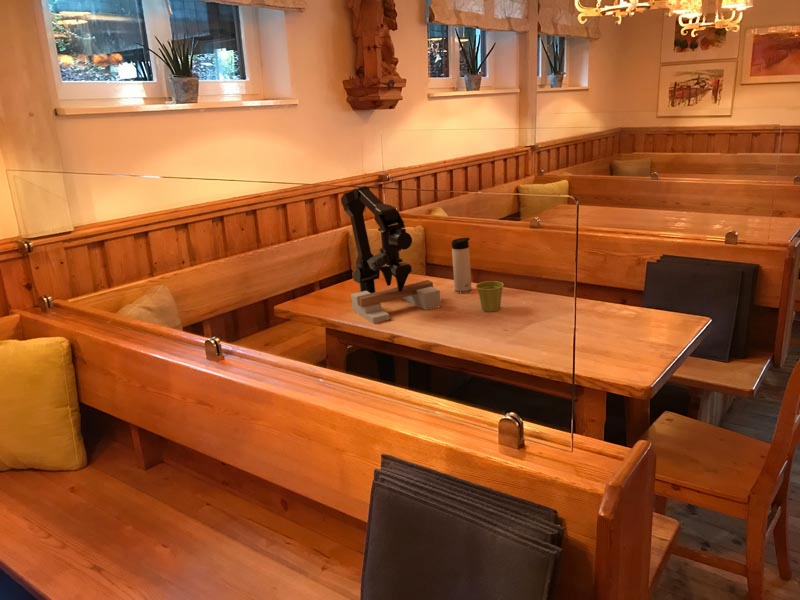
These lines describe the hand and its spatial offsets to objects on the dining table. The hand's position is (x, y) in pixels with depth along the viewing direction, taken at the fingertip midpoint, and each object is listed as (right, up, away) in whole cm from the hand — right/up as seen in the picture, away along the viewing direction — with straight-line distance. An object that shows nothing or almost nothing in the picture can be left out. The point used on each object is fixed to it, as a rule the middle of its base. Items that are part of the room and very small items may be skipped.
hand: (394, 288), depth 237 cm
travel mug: (+26, -1, +15) cm, 30 cm away
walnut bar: (+1, -3, +1) cm, 4 cm away
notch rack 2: (+10, -5, +6) cm, 13 cm away
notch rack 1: (-8, -9, -2) cm, 12 cm away
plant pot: (+33, -7, -8) cm, 34 cm away
